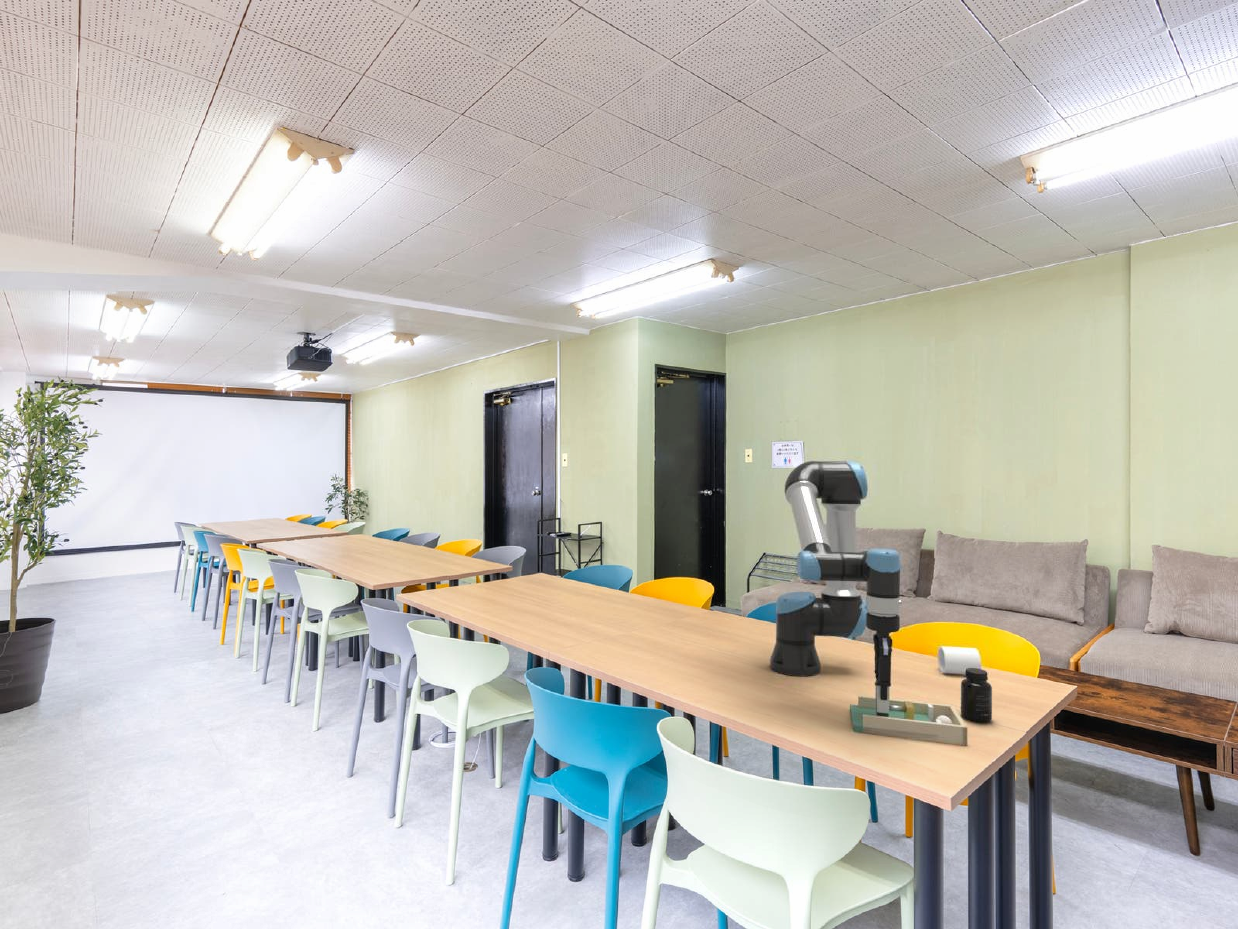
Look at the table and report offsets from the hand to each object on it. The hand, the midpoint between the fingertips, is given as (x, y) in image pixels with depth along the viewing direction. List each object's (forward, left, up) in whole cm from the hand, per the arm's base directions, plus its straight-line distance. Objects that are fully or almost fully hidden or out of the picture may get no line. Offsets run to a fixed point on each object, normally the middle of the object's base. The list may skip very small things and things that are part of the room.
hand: (882, 709), depth 153 cm
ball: (+14, 0, -2) cm, 14 cm away
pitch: (+5, 0, -4) cm, 6 cm away
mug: (+27, +51, -4) cm, 58 cm away
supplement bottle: (+23, +11, -4) cm, 26 cm away
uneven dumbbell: (+3, 0, -2) cm, 3 cm away
